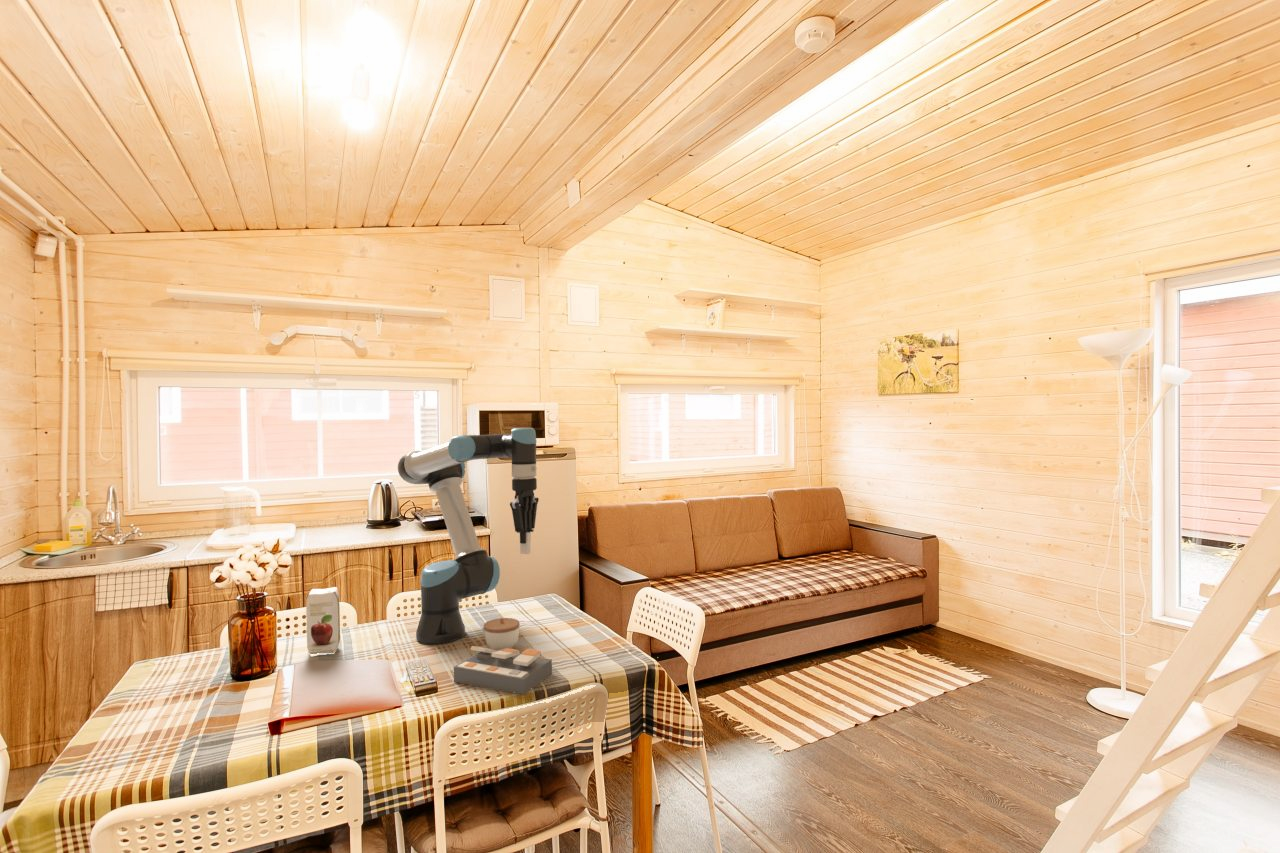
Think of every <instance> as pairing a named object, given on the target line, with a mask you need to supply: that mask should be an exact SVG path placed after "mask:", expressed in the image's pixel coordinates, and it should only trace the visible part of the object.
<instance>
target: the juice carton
mask: <svg viewBox="0 0 1280 853" xmlns="http://www.w3.org/2000/svg"><path fill="white" fill-rule="evenodd" d="M305 606H306V610H305V611H306V612H305V614H306V616H305V617H306V648H307V653H308V654H309V653H310V654H317V653H334V652H336V653H337V650H338V648H339V646H340V642H341V620H340V619H341V618H340V617H341V615H340V611H341V610H340V594H339V590H338V586H333V587H328V588H312V589H311V590H310V591H309V593H308V595H307V597H306V604H305Z"/></svg>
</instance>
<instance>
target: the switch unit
mask: <svg viewBox="0 0 1280 853" xmlns="http://www.w3.org/2000/svg"><path fill="white" fill-rule="evenodd" d="M520 654H521V653H519V655H520ZM491 655H492V654H491V653H485V652H480V651H478V652H477V653H476V654H474V655H472V656H470V657H468V658H467V659H465V660H464V661H462V662H459V663H457V665H455V666H453V682H454V683H458V684H463V685H468V684H469V686H474V687H479V688H480V687H481V688H486V689H491V690H494V691H502V692H506V691H507V692H506V693H511V692H515V693H514V694H517V693H518V695H526V694H527V693H528V692H530V691H531V690H532V689H534V688H535V687H536V686H537V684H538V685H539V684H541V683H542V682H543V681H545V680H546V679H547V678H548V677H550V676H551V675H552V674H553V659H552V658H546V657H540V656H539V657H538V658H536V659H535V660H534V661H533V662H532V663H531V664H529V665H528V666H523V665H517V664H513V660H514V659H515V658H516V657H518V656H519V655H516V656H513V657H510V658H507V659H502V658H496V657H491ZM550 674H551V675H550ZM549 675H550V676H549ZM546 677H547V678H546ZM545 678H546V679H545ZM542 680H543V681H542ZM541 681H542V682H541ZM534 686H535V687H534ZM533 687H534V688H533ZM531 688H532V689H531ZM530 689H531V690H530ZM529 690H530V691H529Z"/></svg>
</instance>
